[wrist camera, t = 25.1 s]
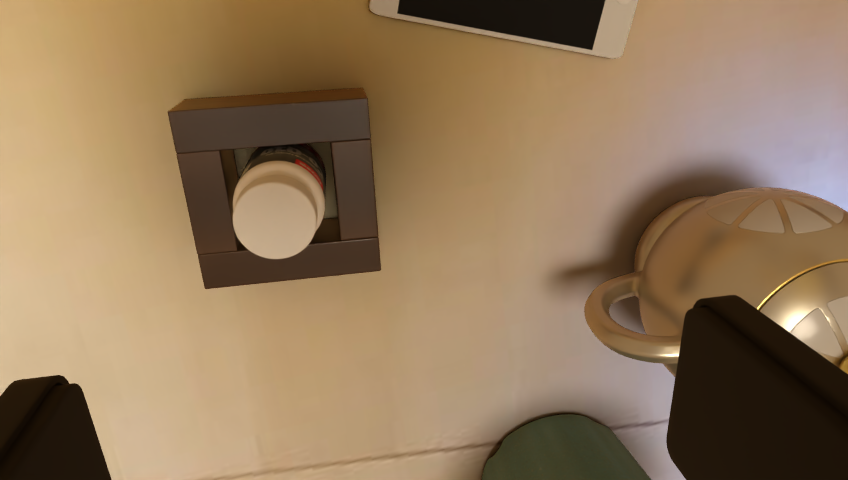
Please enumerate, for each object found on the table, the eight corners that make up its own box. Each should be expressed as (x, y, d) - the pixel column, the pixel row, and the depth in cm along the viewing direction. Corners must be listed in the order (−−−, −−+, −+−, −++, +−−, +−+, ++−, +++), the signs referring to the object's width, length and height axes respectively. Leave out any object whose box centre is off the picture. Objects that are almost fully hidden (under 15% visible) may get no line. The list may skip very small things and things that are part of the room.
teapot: (794, 144, 41) (1067, 228, 26) (770, 313, 46) (984, 465, 31) (544, 182, 39) (681, 297, 24) (549, 354, 44) (664, 536, 29)
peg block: (184, 99, 33) (167, 111, 30) (363, 87, 35) (367, 98, 31) (216, 261, 37) (204, 289, 34) (375, 245, 39) (381, 271, 35)
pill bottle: (336, 151, 36) (339, 192, 28) (312, 220, 37) (309, 277, 30) (259, 125, 35) (240, 160, 27) (237, 197, 36) (213, 250, 28)
